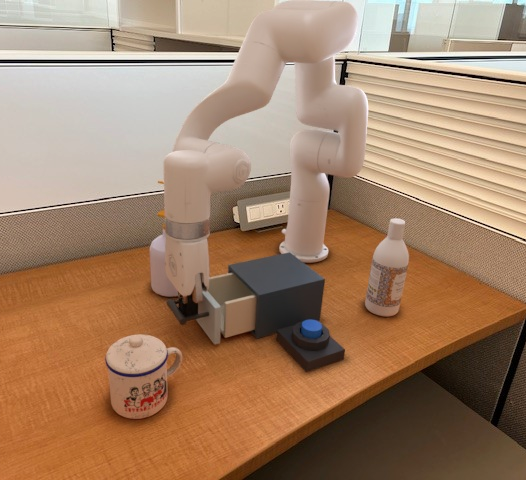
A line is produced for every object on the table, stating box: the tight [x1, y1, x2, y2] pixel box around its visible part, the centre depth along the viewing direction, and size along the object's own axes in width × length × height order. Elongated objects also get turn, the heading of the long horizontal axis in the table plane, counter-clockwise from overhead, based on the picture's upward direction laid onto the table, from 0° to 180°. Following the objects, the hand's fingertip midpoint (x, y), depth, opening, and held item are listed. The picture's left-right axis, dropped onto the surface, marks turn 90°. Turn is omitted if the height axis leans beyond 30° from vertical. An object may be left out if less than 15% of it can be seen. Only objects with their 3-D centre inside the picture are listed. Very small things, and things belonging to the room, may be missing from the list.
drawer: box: [165, 272, 257, 345], centre depth 91 cm, size 19×11×8 cm, turn 117°
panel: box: [275, 321, 346, 373], centre depth 87 cm, size 10×8×4 cm
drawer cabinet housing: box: [227, 252, 326, 340], centre depth 96 cm, size 15×13×10 cm
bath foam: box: [364, 217, 410, 317], centre depth 97 cm, size 7×7×20 cm
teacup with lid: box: [104, 333, 183, 420], centre depth 73 cm, size 12×9×12 cm
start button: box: [301, 319, 322, 339], centre depth 86 cm, size 4×4×2 cm
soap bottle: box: [149, 180, 179, 298], centre depth 101 cm, size 9×9×25 cm
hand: (188, 316), depth 88 cm, fingers closed
